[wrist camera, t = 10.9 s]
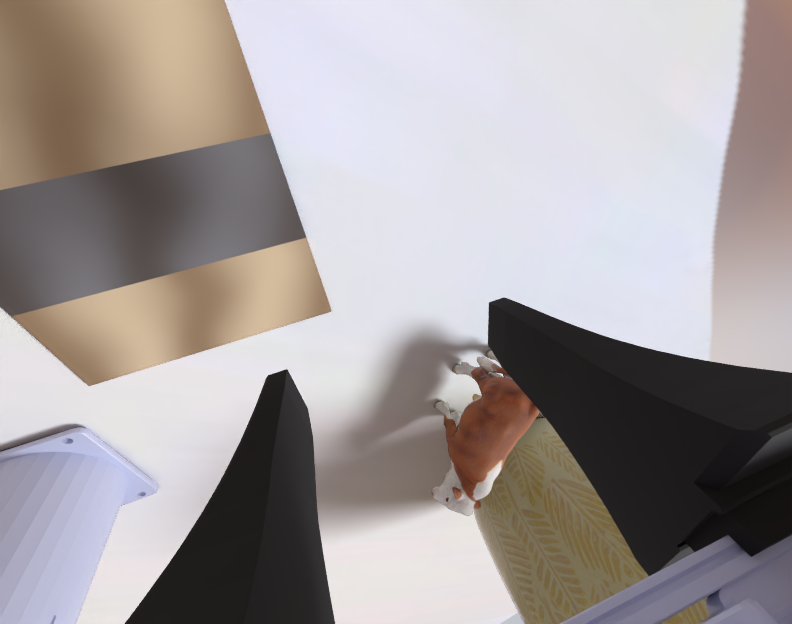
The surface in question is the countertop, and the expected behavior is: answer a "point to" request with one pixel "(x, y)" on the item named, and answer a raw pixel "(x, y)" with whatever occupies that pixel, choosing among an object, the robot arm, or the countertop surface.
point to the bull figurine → (482, 435)
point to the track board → (140, 186)
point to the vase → (556, 535)
